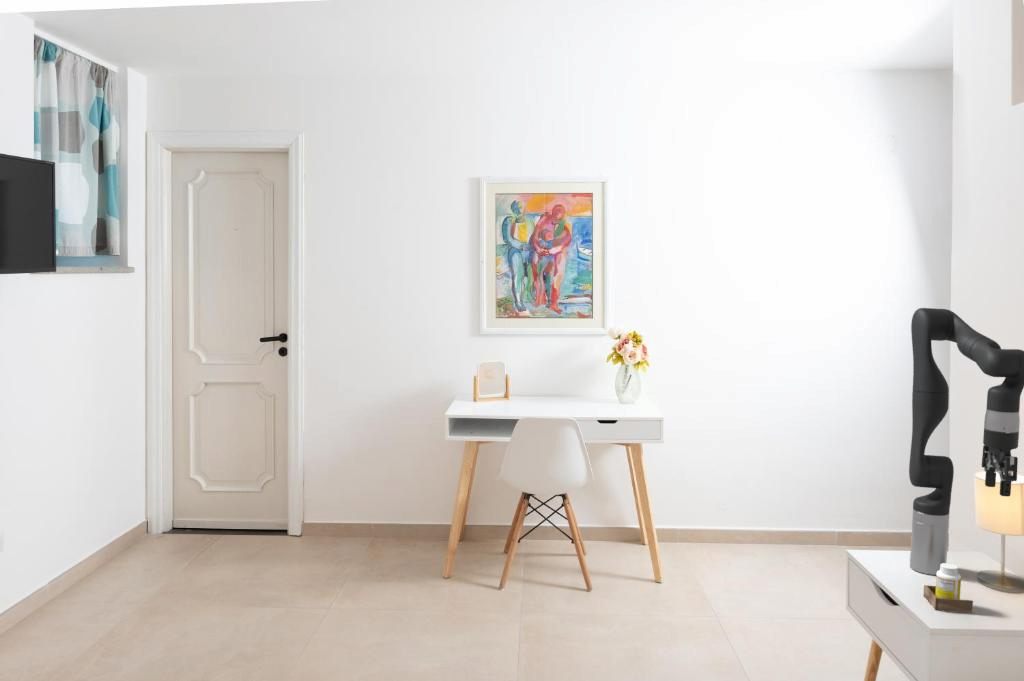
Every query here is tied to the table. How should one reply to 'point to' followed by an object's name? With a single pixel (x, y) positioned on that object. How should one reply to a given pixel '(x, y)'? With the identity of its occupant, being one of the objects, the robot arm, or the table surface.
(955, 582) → the supplement bottle
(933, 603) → the walnut u rest
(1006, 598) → the table surface
